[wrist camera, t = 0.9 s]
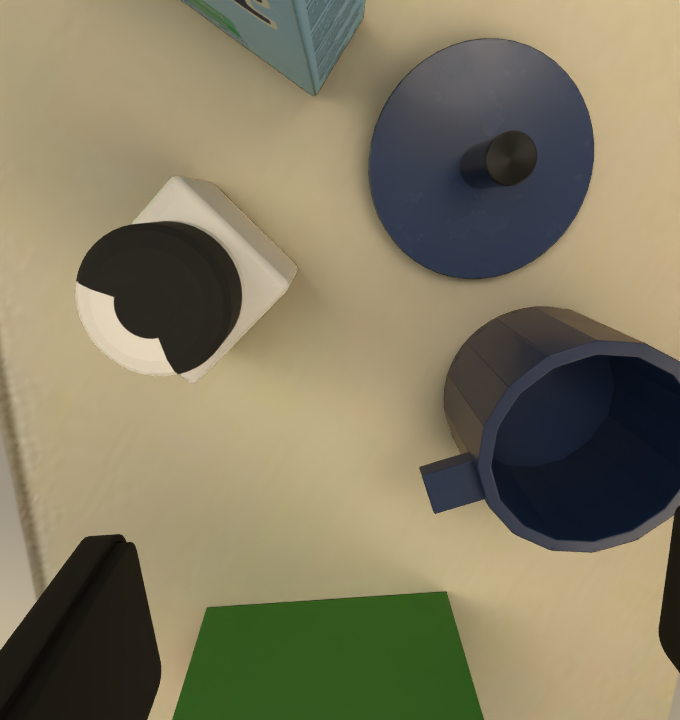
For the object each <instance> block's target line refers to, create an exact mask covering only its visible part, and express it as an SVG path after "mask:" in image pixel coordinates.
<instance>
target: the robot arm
mask: <svg viewBox="0 0 680 720" xmlns="http://www.w3.org/2000/svg"><path fill="white" fill-rule="evenodd" d="M659 638H660V642H661V645H662V647H663V650H664V652H665V653H666V655H667V656H668V658H669V659H670V660H671V662H672V663H673V664H674V666H675V667H676V668H677V670H678V671H679V673H680V506H678V507H677V508H676V511H675V514H674V522H673V529H672V536H671V543H670V551H669V558H668V565H667V572H666V580H665V587H664V594H663V601H662V609H661V616H660V623H659ZM160 679H161V661H160V657H159V652H158V647H157V643H156V638H155V633H154V629H153V624H152V619H151V615H150V610H149V605H148V601H147V596H146V591H145V587H144V582H143V577H142V573H141V568H140V563H139V559H138V554H137V550H136V547H135V545H134V543H132V542H126V540H125V538H124V537H123V535H120V534H115V535H100V536H88V537H85V538H84V539H83V540H82V541H81V542H80V544H79V545H78V546H77V548H76V549H75V551H74V552H73V553H72V555H71V556H70V557H69V559H68V560H67V561H66V563H65V564H64V565H63V567H62V568H61V569H60V571H59V572H58V573H57V575H56V576H55V577H54V579H53V580H52V582H51V583H50V584H49V586H48V587H47V588H46V590H45V591H44V592H43V594H42V595H41V596H40V598H39V599H38V600H37V602H36V603H35V604H34V606H33V607H32V609H31V610H30V611H29V612H28V614H27V615H26V617H25V618H24V619H23V621H22V622H21V623H20V625H19V626H18V627H17V629H16V630H15V631H14V633H13V634H12V635H11V637H10V638H9V639H8V641H7V642H6V644H5V645H4V646H3V648H2V649H1V650H0V720H147V719H148V716H149V713H150V710H151V708H152V705H153V702H154V699H155V696H156V694H157V691H158V688H159V684H160Z"/></svg>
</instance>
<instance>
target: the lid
mask: <svg viewBox="0 0 680 720" xmlns="http://www.w3.org/2000/svg"><path fill="white" fill-rule="evenodd" d="M593 161H594V139H593V130H592V124H591V120H590V116H589V112H588V110H587V107H586V105H585V102H584V99H583V97H582V95H581V94H580V92H579V90H578V88H577V86H576V85H575V83H574V82H573V81H572V79H571V78H570V77H569V75H568V74H567V73H566V72H565V71H564V70H563V69H562V68H561V67H560V66H559V65H558V64H557V63H556V62H555V61H554V60H552V59H551V58H549V57H548V56H547V55H545V54H544V53H542V52H540V51H538V50H536V49H534V48H532V47H530V46H528V45H525V44H522V43H519V42H516V41H511V40H505V39H494V38H483V39H476V40H469V41H465V42H461V43H458V44H454V45H451V46H449V47H447V48H445V49H442V50H440V51H438V52H436V53H435V54H433V55H431V56H430V57H428V58H427V59H425V60H424V61H422V62H421V63H420V64H419V65H417V66H416V67H415V68H414V69H413V70H411V71H410V72H409V73H408V75H407V76H406V77H405V78H404V79H403V80H402V81H401V82H400V83H399V84H398V86H397V87H396V89H395V90H394V91H393V93H392V94H391V95H390V97H389V99H388V101H387V102H386V104H385V106H384V108H383V110H382V111H381V114H380V116H379V119H378V121H377V124H376V126H375V129H374V133H373V137H372V141H371V146H370V153H369V172H368V174H369V184H370V191H371V195H372V199H373V204H374V206H375V209H376V212H377V214H378V217H379V219H380V221H381V223H382V225H383V226H384V228H385V230H386V232H387V233H388V234H389V236H390V237H391V239H392V240H393V241H394V242H395V244H396V245H397V246H398V247H399V248H400V249H401V250H402V251H403V252H404V253H405V254H407V255H408V256H409V257H410V258H412V259H413V260H414V261H416V262H417V263H419V264H421V265H422V266H424V267H426V268H428V269H430V270H433V271H435V272H437V273H440V274H443V275H447V276H451V277H457V278H464V279H481V278H489V277H495V276H499V275H502V274H506V273H509V272H511V271H514V270H516V269H519V268H521V267H523V266H525V265H527V264H528V263H530V262H532V261H534V260H535V259H536V258H538V257H539V256H541V255H542V254H543V253H545V252H546V251H547V250H548V249H549V248H550V247H551V246H552V245H554V244H555V243H556V242H557V241H558V239H559V238H560V237H561V236H562V235H563V234H564V232H565V231H566V230H567V229H568V227H569V226H570V224H571V223H572V221H573V220H574V218H575V217H576V215H577V213H578V211H579V209H580V207H581V205H582V203H583V200H584V198H585V195H586V193H587V190H588V187H589V183H590V179H591V175H592V168H593Z"/></svg>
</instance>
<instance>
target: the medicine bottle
mask: <svg viewBox="0 0 680 720" xmlns="http://www.w3.org/2000/svg"><path fill="white" fill-rule="evenodd" d="M297 271H298V267H297V266H296V264H295V263H294V262H293V261H292V260H291V259H290V258H289V257H288V256H287V255H286V254H285V253H284V252H283V251H282V250H281V249H280V248H279V247H277V246H276V245H275V244H274V243H273V242H272V241H271V240H270V239H269V238H268V237H267V236H266V235H265V234H264V233H263V232H262V231H261V230H260V229H259V228H258V227H257V226H256V225H255V224H254V223H253V222H252V221H251V220H250V219H249V218H248V217H247V216H246V215H245V214H244V213H243V212H242V211H241V210H240V209H239V208H238V207H237V206H236V205H235V204H234V203H233V202H232V201H231V200H230V199H229V198H228V197H227V196H226V195H225V194H224V193H223V192H222V191H220V190H219V189H218V188H217V187H216V186H215V185H214V184H213V183H211V182H208V181H202V180H197V179H191V178H185V177H180V176H173V177H172V178H170V179H169V180H168V182H167V183H166V184H165V185H164V186H163V187H162V189H161V190H160V191H159V192H158V193H157V194H156V196H155V197H154V198H153V199H152V200H151V201H150V203H149V204H148V205H147V206H146V207H145V208H144V210H143V211H142V212H141V213H140V214H139V215H138V217H137V218H136V219H135V220H134V221H133V222H132V224H131V225H127V226H123V227H120V228H118V229H116V230H113V231H111V232H110V233H108V234H106V235H105V236H103V237H102V238H101V239H99V240H98V241H97V242H96V243H95V244H94V245H93V246H92V247H91V249H90V250H89V251H88V252H87V254H86V256H85V257H84V259H83V261H82V263H81V266H80V268H79V271H78V275H77V279H76V289H75V295H76V305H77V310H78V314H79V317H80V319H81V322H82V324H83V326H84V328H85V330H86V332H87V334H88V335H89V337H90V338H91V340H92V341H93V343H94V344H95V345H96V346H97V347H98V348H99V349H100V351H102V352H103V353H104V354H105V355H106V356H107V357H108V358H110V359H111V360H113V361H114V362H116V363H117V364H119V365H121V366H123V367H124V368H126V369H129V370H131V371H134V372H137V373H141V374H145V375H151V376H172V375H178V374H180V375H181V376H182V377H183V378H184V379H185V380H187V381H188V382H189V383H197V382H199V381H200V380H201V379H202V378H203V377H204V376H205V375H206V374H207V373H208V372H209V371H210V370H211V369H212V367H213V366H214V365H215V364H216V363H217V362H218V361H219V360H220V359H221V358H222V357H223V356H224V355H225V354H226V353H227V352H228V351H229V350H230V349H231V348H232V347H233V346H234V345H235V344H236V343H237V342H238V341H239V340H240V339H241V338H242V337H243V336H244V335H245V334H246V332H247V331H248V330H249V329H250V328H251V327H252V326H253V325H254V324H255V323H256V322H257V321H258V320H259V319H260V318H261V317H262V316H263V315H264V314H265V313H266V312H267V311H268V310H269V309H270V308H271V307H272V306H273V305H274V304H275V303H276V302H277V301H278V300H279V299H280V297H281V296H282V295H283V294H284V293H285V292H286V291H287V290H288V288H289V286H290V284H291V282H292V280H293V279H294V277H295V275H296V273H297Z"/></svg>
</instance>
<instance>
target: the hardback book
mask: <svg viewBox="0 0 680 720" xmlns="http://www.w3.org/2000/svg"><path fill="white" fill-rule="evenodd" d="M172 720H484V718H483V715H482V711H481V708H480V705H479V701H478V698H477V694H476V691H475V688H474V684H473V681H472V677H471V674H470V670H469V667H468V664H467V660H466V657H465V653H464V650H463V647H462V643H461V640H460V636H459V633H458V630H457V626H456V623H455V619H454V616H453V613H452V609H451V606H450V602H449V599H448V595H447V592H435V593H420V594H405V595H390V596H375V597H360V598H345V599H331V600H316V601H301V602H286V603H271V604H256V605H241V606H226V607H212V608H207V609H206V612H205V616H204V619H203V622H202V625H201V629H200V632H199V635H198V638H197V642H196V645H195V648H194V651H193V655H192V658H191V661H190V664H189V667H188V671H187V674H186V677H185V680H184V684H183V687H182V690H181V693H180V697H179V700H178V703H177V706H176V710H175V713H174V716H173V719H172Z"/></svg>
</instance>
